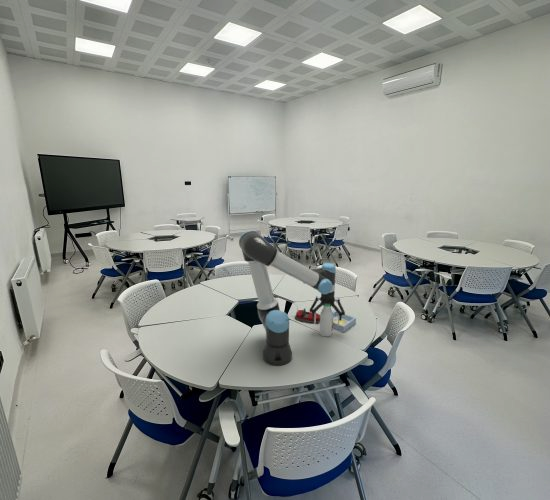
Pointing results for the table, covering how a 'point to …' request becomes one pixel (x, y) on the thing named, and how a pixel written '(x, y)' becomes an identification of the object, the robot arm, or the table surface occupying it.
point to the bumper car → (306, 316)
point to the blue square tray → (343, 322)
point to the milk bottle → (326, 320)
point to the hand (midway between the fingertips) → (326, 323)
